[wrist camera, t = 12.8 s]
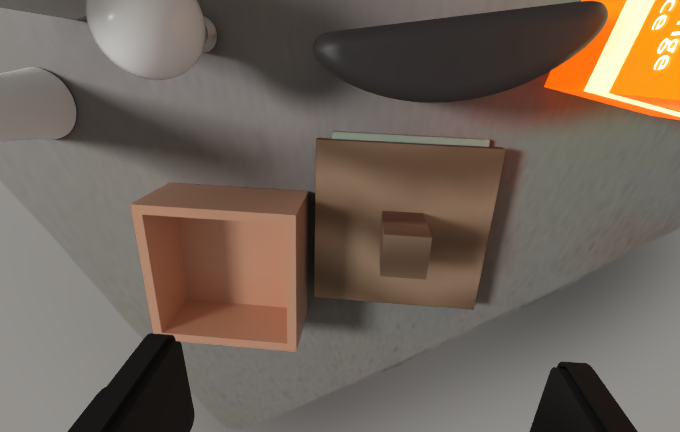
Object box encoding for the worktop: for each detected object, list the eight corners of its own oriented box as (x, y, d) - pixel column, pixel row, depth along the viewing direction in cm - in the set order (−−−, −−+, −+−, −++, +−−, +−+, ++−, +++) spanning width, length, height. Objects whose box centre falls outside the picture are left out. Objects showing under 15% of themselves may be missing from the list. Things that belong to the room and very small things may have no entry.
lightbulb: (256, 57, 30) (197, 51, 20) (191, 90, 31) (103, 100, 21) (218, -27, 28) (130, -82, 18) (149, 11, 29) (31, -20, 19)
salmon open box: (169, 182, 35) (130, 204, 29) (308, 191, 34) (295, 215, 28) (185, 301, 39) (154, 339, 34) (307, 311, 39) (296, 351, 33)
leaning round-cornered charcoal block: (332, 103, 31) (317, 116, 22) (326, 42, 29) (307, 31, 20) (538, 82, 29) (610, 87, 20) (544, 16, 27) (624, -9, 19)
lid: (318, 136, 31) (306, 152, 25) (500, 146, 30) (531, 164, 25) (316, 289, 37) (305, 331, 31) (470, 300, 36) (489, 346, 30)
